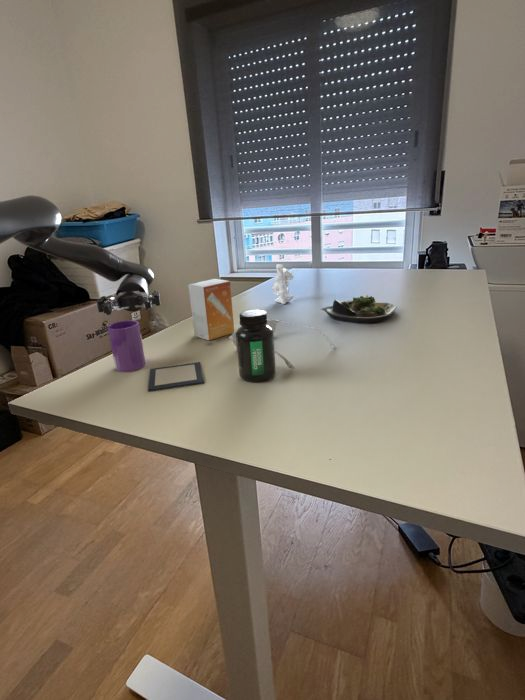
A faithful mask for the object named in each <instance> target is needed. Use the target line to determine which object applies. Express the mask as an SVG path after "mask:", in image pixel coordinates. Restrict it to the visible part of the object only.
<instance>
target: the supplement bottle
mask: <svg viewBox="0 0 525 700" xmlns="http://www.w3.org/2000/svg"><path fill="white" fill-rule="evenodd" d="M267 323H268V314H267V311H265V310H260V309H251V310H245V311H242V312H240V313H239V325H240V327H239V328H238V329H237V330H236V331H237V332H236V331H235V332H236V345H237V347H236V355H237V365H238V374H239V377H240V378H241V379H242V380H243V381H245V382H249V383H263V382H267V381H269V380H271V379H273V378H274V377H275V375H276V372H277V371H276V369H277V368H276V353H275V351H276V350H275V335H274V334H275V333H274V334H273V330H272V328H271V327H269V326H268V325H266V324H267Z"/></svg>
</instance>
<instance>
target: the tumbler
mask: <svg viewBox="0 0 525 700" xmlns="http://www.w3.org/2000/svg"><path fill="white" fill-rule="evenodd" d="M106 329H107V332H108V338H109V344H110V347H111V353H112V357H113V362H114V367H115V370H116V371H118V372H121V373H128V372H129V373H130V372H134V371H138V370H141V369H143V368H144V367H145V366H146V365H147V360H146V355H145V349H144V343H143V338H142V333H141V325H140V323H139V321H137V320H133V319H132V320H120V321H116V322H113V323H110V324H109V325H107V328H106Z"/></svg>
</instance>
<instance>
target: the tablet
mask: <svg viewBox="0 0 525 700" xmlns="http://www.w3.org/2000/svg"><path fill="white" fill-rule="evenodd" d="M147 384H148V385H147V392H156V391H162V390H168V389H175V388H182V387H189V386H195V385H202V384H205V379H204V374H203V369H202V365H201V362H200V361H196V362H188V363H181V364H174V365H167V366H160V367H154V368H153V367H152V368H149V375H148V383H147Z"/></svg>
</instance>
